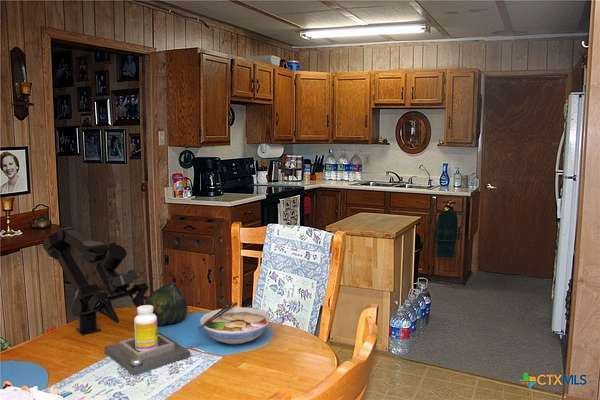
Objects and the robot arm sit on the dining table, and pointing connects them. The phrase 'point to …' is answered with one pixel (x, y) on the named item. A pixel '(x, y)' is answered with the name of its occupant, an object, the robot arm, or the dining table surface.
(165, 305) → the squash
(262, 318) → the ramen bowl
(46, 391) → the dining table surface
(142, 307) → the supplement bottle
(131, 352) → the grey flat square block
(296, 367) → the dining table surface
